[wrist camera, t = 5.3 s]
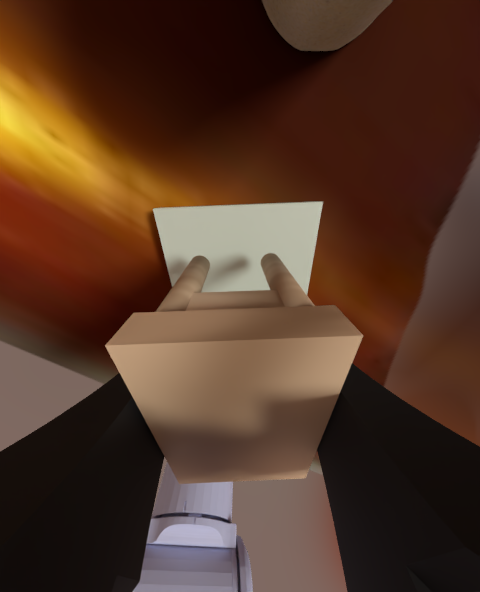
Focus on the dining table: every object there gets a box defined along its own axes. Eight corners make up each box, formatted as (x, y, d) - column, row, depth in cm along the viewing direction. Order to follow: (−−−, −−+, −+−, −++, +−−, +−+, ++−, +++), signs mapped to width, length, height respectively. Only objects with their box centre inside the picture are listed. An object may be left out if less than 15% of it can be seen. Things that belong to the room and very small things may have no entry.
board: (294, 342, 17) (297, 350, 16) (191, 345, 17) (188, 353, 16) (316, 201, 11) (322, 201, 10) (159, 207, 11) (152, 208, 11)
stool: (283, 249, 10) (362, 335, 4) (273, 353, 14) (305, 478, 8) (185, 253, 10) (105, 345, 4) (204, 355, 14) (179, 484, 8)
